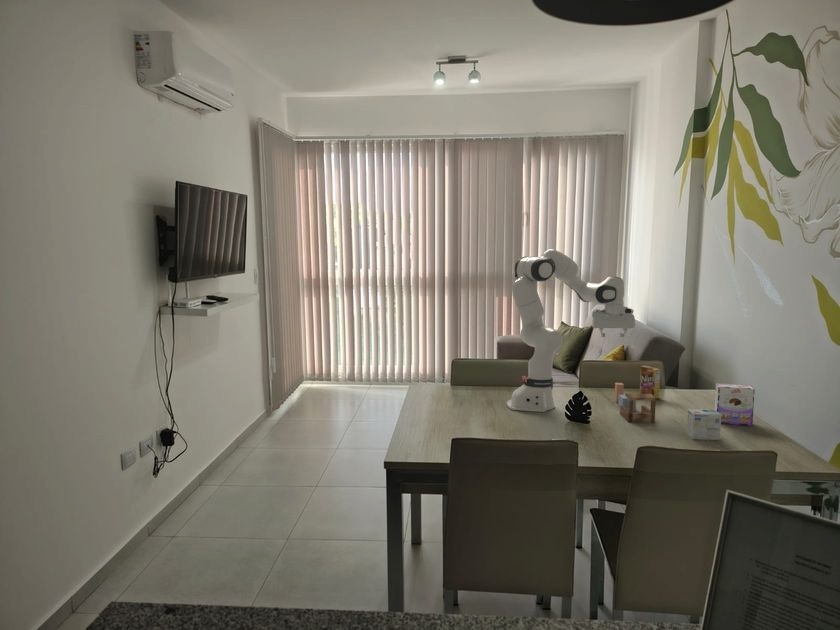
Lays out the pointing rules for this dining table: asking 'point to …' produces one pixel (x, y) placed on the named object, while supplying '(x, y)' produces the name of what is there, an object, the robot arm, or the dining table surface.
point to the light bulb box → (703, 424)
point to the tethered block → (622, 396)
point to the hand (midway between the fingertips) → (612, 337)
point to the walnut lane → (646, 413)
